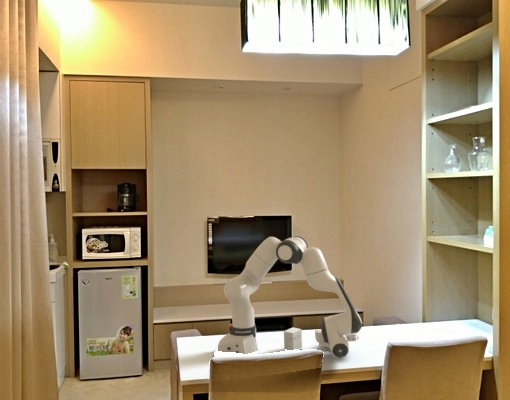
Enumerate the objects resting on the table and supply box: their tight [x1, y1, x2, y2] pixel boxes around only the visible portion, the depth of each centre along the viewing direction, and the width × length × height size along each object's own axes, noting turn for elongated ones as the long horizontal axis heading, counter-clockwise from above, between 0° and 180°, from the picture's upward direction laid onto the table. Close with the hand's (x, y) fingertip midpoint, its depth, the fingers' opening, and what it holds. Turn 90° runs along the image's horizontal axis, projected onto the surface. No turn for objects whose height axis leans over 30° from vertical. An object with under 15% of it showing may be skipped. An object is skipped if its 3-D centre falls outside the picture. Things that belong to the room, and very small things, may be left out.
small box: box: [283, 326, 303, 350], centre depth 230 cm, size 8×6×10 cm
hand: (334, 330), depth 232 cm, fingers open, 8 cm apart
